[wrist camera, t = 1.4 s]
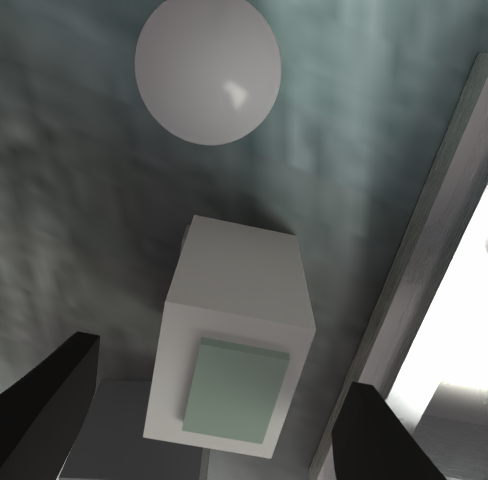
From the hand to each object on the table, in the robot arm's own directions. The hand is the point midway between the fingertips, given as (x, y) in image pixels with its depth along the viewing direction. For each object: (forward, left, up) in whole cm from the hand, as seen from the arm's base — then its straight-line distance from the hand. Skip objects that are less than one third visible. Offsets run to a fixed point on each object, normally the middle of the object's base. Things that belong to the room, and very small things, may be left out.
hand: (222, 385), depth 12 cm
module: (0, 0, -6) cm, 6 cm away
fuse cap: (+8, +2, -6) cm, 10 cm away
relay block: (-8, +2, -6) cm, 10 cm away
